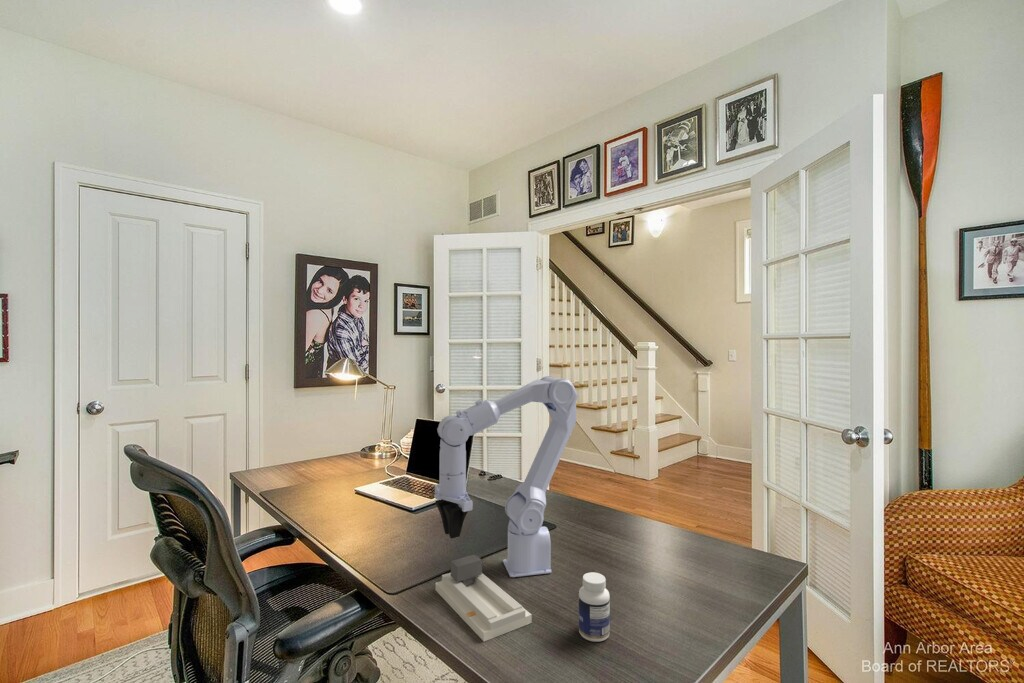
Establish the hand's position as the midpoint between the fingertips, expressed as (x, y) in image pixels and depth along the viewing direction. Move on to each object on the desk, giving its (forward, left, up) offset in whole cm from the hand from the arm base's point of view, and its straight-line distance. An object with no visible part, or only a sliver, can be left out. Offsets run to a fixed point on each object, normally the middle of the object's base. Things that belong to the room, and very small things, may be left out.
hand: (452, 535), depth 101 cm
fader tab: (-2, +6, -8) cm, 10 cm away
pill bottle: (-22, +25, -10) cm, 35 cm away
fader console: (-4, +12, -9) cm, 16 cm away
